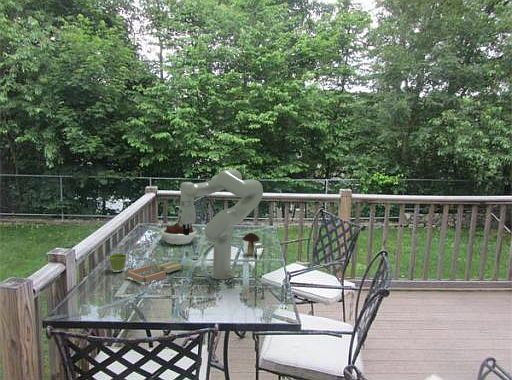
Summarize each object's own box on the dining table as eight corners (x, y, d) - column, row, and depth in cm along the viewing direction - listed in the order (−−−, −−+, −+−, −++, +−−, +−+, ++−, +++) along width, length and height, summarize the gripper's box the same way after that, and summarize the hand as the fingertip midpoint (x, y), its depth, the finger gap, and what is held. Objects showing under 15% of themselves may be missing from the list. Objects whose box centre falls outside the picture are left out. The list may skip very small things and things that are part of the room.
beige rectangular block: (182, 270, 232) (183, 264, 232) (168, 275, 223) (168, 268, 223) (173, 267, 237) (173, 261, 236) (158, 271, 228) (158, 265, 228)
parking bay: (165, 278, 218) (165, 271, 217) (144, 285, 207) (144, 278, 206) (148, 272, 226) (148, 265, 226) (126, 278, 215) (126, 271, 214)
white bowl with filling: (158, 239, 296) (159, 218, 294) (193, 238, 304) (193, 218, 302) (161, 248, 272) (162, 226, 270) (199, 247, 280) (199, 225, 278)
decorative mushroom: (258, 258, 261) (259, 235, 259) (241, 257, 261) (242, 234, 259) (258, 253, 272) (259, 231, 270) (242, 252, 272) (243, 230, 270)
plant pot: (121, 275, 220) (121, 259, 219) (105, 273, 222) (105, 257, 221) (129, 269, 229) (129, 254, 228) (114, 268, 231) (114, 253, 230)
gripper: (181, 206, 226) (181, 238, 229) (200, 203, 238) (200, 233, 241) (172, 204, 231) (172, 235, 233) (191, 201, 243) (191, 231, 245)
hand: (186, 234), depth 237 cm, fingers closed
